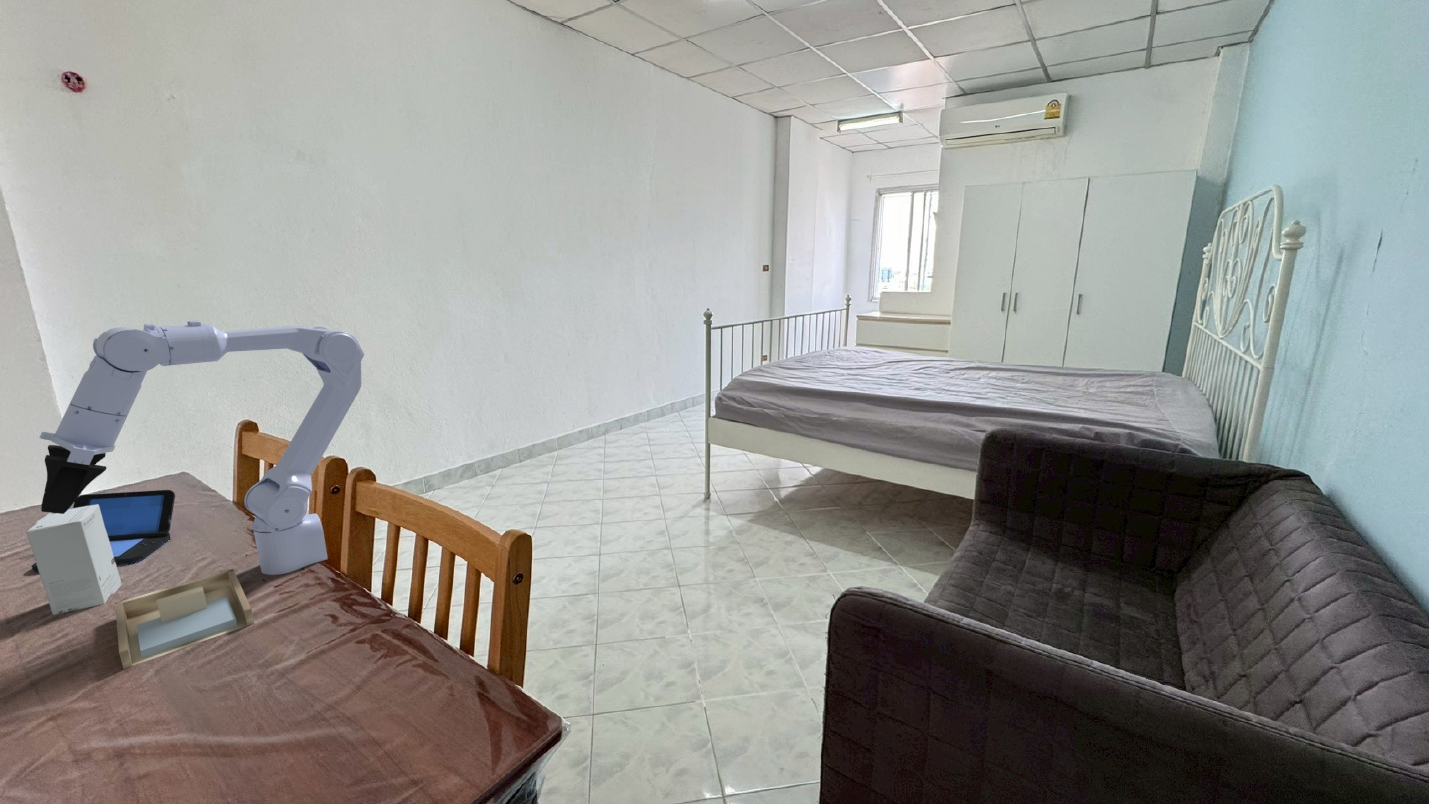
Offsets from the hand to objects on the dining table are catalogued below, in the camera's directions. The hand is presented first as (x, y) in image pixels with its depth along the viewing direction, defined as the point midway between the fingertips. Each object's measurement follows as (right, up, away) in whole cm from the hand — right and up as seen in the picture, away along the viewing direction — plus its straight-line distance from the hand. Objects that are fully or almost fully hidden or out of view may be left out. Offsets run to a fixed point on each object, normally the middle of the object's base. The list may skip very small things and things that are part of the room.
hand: (53, 505), depth 76 cm
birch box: (+10, -20, +8) cm, 24 cm away
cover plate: (+12, -19, +6) cm, 24 cm away
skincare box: (-10, -18, +14) cm, 25 cm away
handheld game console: (-23, -14, +29) cm, 40 cm away
